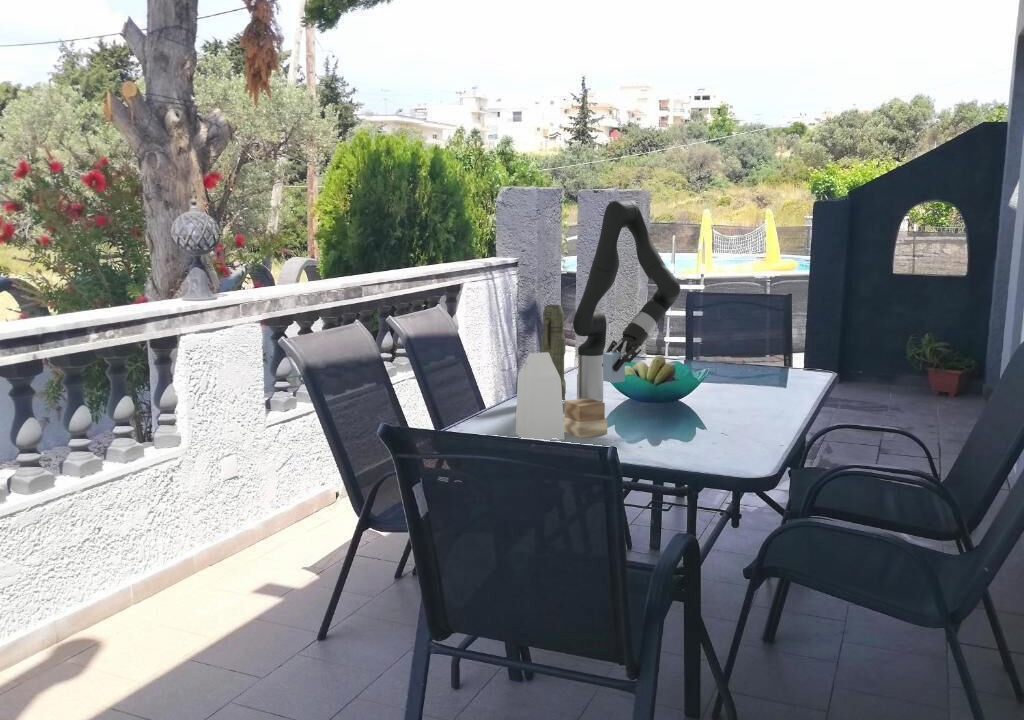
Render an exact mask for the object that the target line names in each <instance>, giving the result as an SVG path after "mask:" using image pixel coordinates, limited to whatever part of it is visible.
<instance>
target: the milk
mask: <svg viewBox="0 0 1024 720" xmlns="http://www.w3.org/2000/svg"><path fill="white" fill-rule="evenodd" d="M525 360H526V361H525V362H524V364H523V366H522V367H521V369H520V370H519V373H518V375H517V385H516V387H517V388H516V413H515V414H516V415H515V416H516V417H515V435H516V434H517V435H519V436H518V438H520V437H523V438H534V439H544V440H556V441H558V440H557V439H564V440H565V432H564V423H563V416H564V409H563V408H564V407H563V402H562V388H561V379H560V376H559V374H558V372H557V370H556V368H555V366H554V364H553V362H552V359H551V356H550V354H549V353H548V352H545V353H541V352H529V354H528V355H527V358H526V359H525ZM517 435H516V436H517ZM552 438H557V439H552Z"/></svg>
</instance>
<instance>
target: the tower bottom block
mask: <svg viewBox="0 0 1024 720" xmlns="http://www.w3.org/2000/svg"><path fill="white" fill-rule="evenodd" d="M563 423H564V431H565V432H564V433H566V432H567V433H566V434H569V433H570V434H569V435H571V436H574V435H575V437H577V438H579V439H581V438H588V437H589V438H590V437H594V436H602V435H607V434H608V418H607V417H605V419H600V420H592V421H585V422H578V421H575V420H573V419H570V418H567V417H565V415H563Z"/></svg>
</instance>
